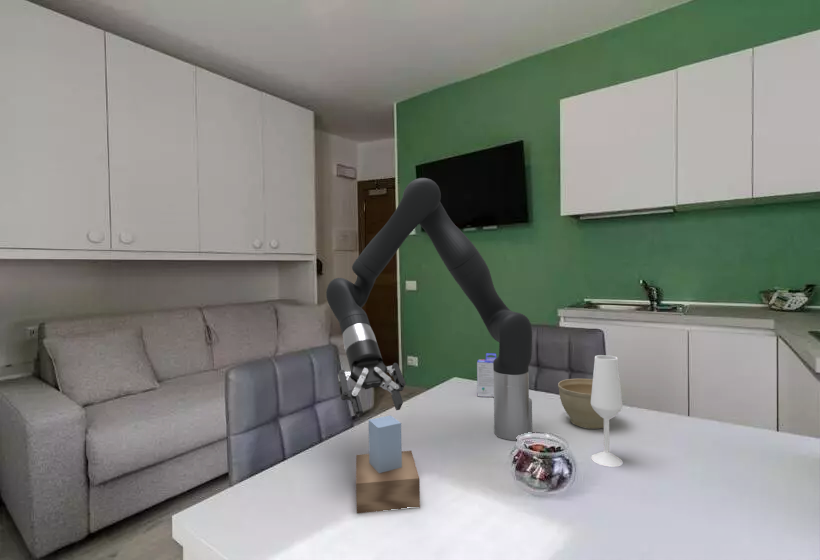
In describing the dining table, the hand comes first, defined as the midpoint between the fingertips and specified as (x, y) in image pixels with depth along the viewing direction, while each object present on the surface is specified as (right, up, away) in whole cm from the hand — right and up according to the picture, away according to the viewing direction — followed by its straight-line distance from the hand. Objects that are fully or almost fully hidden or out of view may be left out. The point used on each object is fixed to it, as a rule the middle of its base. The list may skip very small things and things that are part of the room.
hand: (380, 411), depth 86 cm
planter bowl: (+57, -14, +32) cm, 67 cm away
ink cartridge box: (+35, -13, +59) cm, 70 cm away
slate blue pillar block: (+1, -10, -2) cm, 11 cm away
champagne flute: (+52, -15, +10) cm, 55 cm away
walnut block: (+1, -16, -2) cm, 16 cm away
